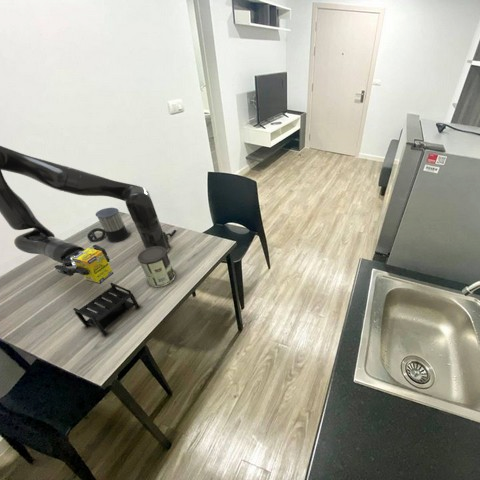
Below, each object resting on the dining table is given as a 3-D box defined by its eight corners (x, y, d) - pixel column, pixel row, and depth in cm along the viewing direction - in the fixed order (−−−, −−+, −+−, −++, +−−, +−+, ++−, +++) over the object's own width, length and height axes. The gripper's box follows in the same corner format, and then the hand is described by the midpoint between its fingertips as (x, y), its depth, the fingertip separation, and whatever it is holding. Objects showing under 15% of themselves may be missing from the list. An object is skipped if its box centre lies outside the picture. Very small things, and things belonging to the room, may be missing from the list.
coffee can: (164, 267, 120) (155, 243, 111) (180, 275, 116) (171, 251, 108) (143, 281, 112) (131, 256, 104) (159, 290, 109) (148, 265, 100)
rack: (121, 299, 104) (111, 282, 98) (140, 307, 101) (131, 290, 95) (85, 326, 93) (71, 309, 87) (105, 336, 91) (92, 319, 85)
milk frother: (132, 237, 135) (121, 212, 126) (95, 250, 125) (81, 224, 116) (122, 225, 142) (111, 201, 133) (87, 237, 132) (72, 212, 124)
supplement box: (100, 284, 92) (86, 261, 85) (86, 281, 93) (70, 258, 86) (114, 273, 97) (102, 250, 90) (100, 269, 98) (87, 247, 91)
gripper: (35, 256, 87) (70, 271, 83) (81, 233, 98) (113, 246, 94) (47, 272, 91) (81, 287, 87) (90, 249, 102) (121, 261, 98)
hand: (97, 266), depth 90 cm, fingers closed on supplement box, 6 cm apart
